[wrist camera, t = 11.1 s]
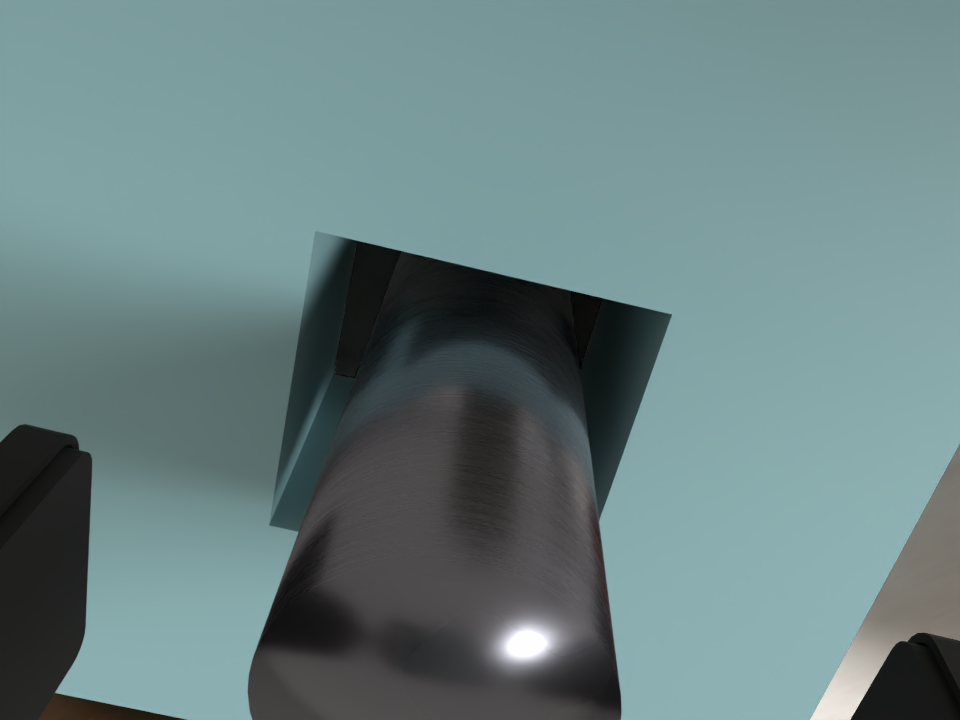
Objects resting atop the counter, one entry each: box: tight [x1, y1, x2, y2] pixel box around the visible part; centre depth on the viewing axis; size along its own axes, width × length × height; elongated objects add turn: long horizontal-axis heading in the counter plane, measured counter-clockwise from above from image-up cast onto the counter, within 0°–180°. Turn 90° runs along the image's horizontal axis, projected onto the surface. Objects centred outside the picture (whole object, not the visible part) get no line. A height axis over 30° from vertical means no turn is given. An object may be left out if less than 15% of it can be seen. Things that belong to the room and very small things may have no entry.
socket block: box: [0, 0, 960, 720], centre depth 18 cm, size 16×16×6 cm
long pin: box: [248, 251, 622, 720], centre depth 15 cm, size 4×4×12 cm
